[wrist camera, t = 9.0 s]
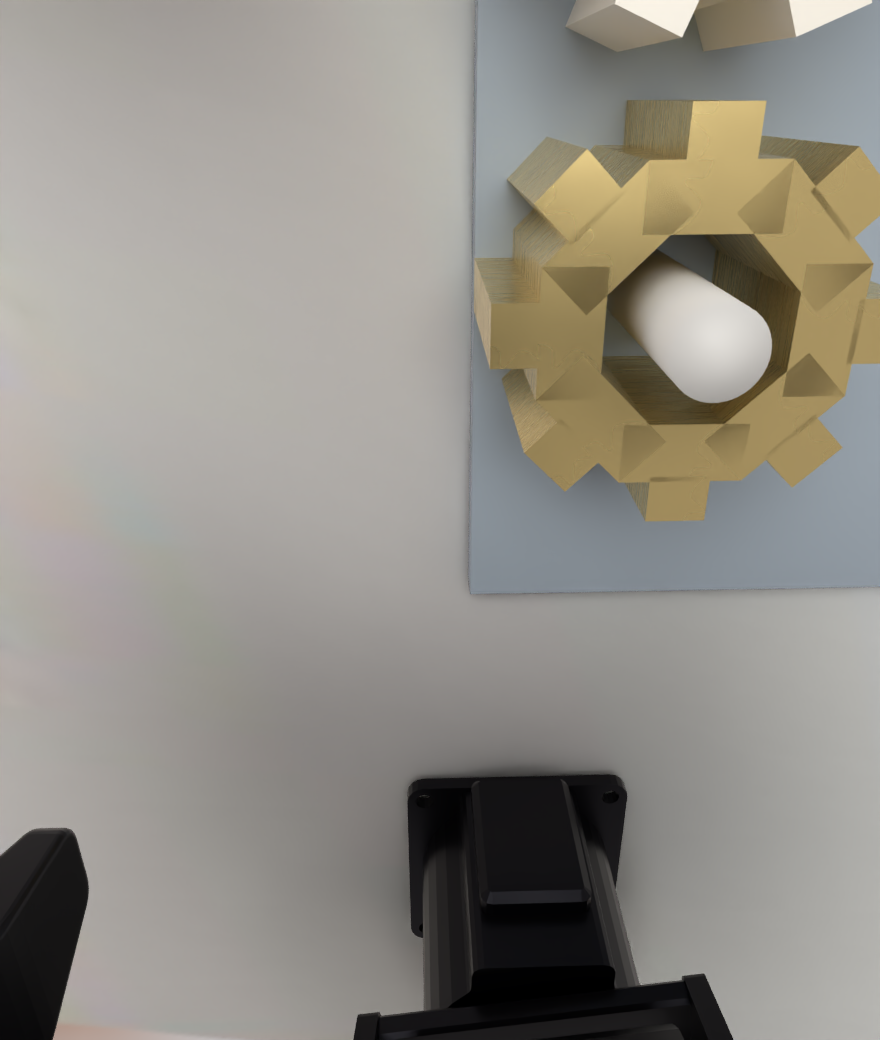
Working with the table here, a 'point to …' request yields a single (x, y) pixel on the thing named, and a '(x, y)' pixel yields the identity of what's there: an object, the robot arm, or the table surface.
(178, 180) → the table surface
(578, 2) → the cream gear
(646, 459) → the brass gear
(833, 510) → the gear board
